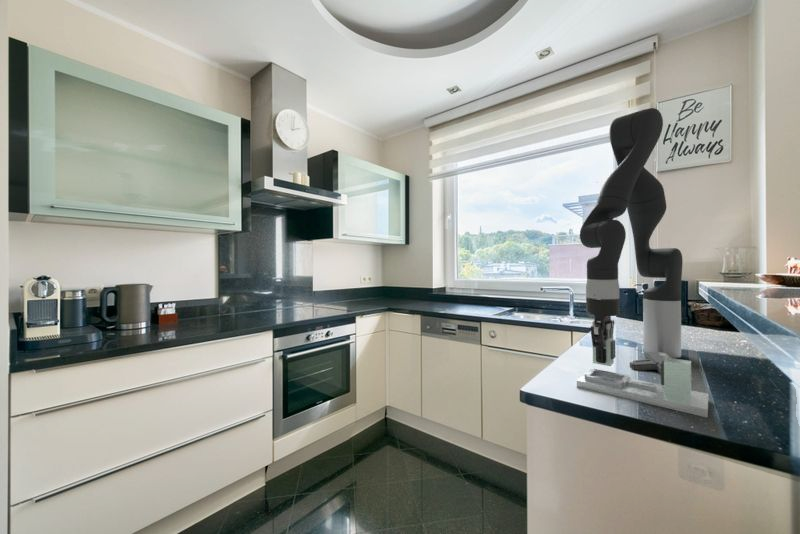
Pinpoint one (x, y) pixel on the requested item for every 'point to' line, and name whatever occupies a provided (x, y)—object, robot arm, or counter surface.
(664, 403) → the rail
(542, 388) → the counter surface
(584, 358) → the counter surface
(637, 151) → the robot arm
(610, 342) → the pale grey upright block
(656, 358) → the dark grey bracket
